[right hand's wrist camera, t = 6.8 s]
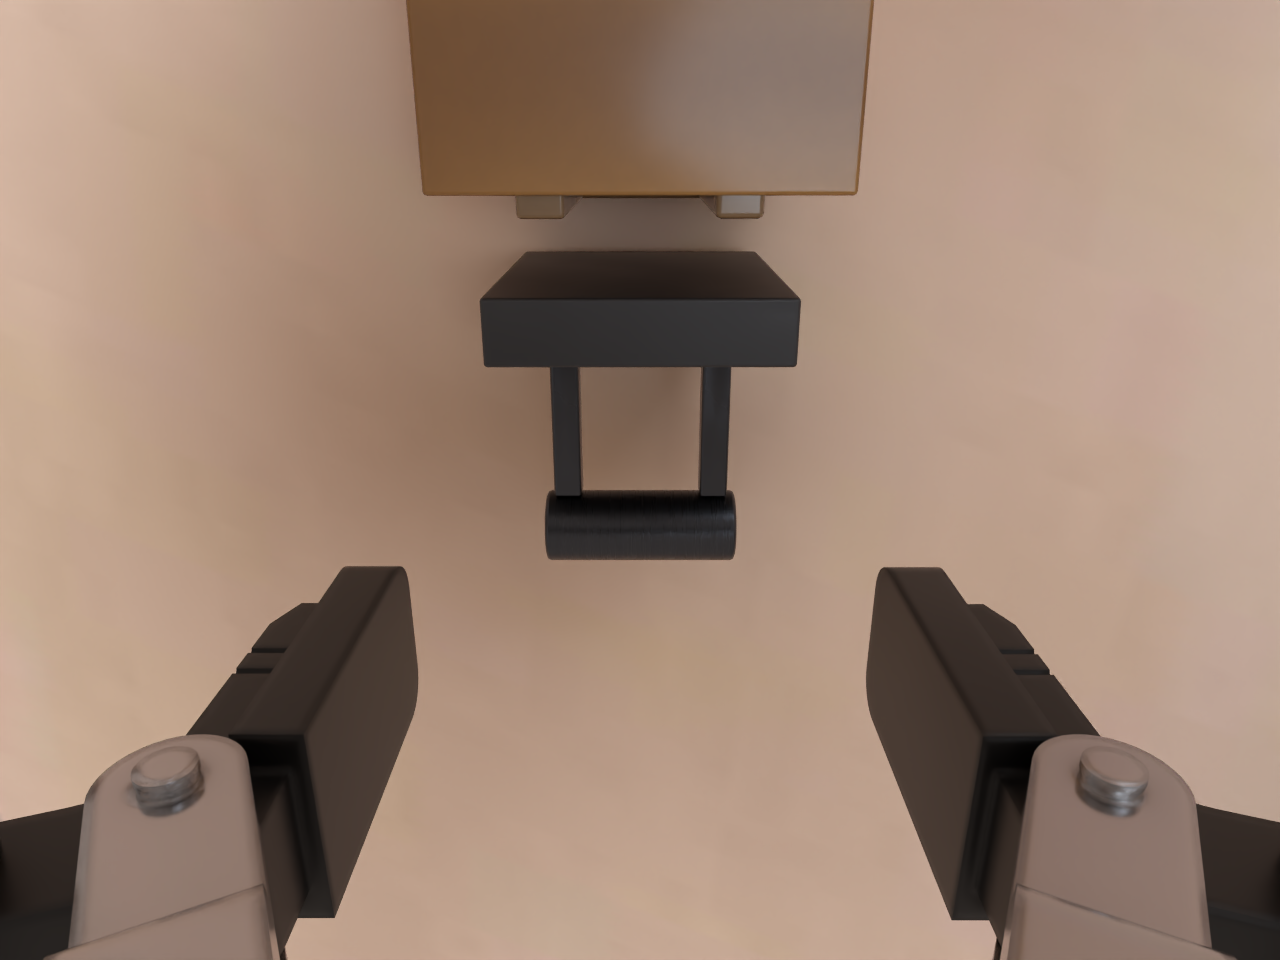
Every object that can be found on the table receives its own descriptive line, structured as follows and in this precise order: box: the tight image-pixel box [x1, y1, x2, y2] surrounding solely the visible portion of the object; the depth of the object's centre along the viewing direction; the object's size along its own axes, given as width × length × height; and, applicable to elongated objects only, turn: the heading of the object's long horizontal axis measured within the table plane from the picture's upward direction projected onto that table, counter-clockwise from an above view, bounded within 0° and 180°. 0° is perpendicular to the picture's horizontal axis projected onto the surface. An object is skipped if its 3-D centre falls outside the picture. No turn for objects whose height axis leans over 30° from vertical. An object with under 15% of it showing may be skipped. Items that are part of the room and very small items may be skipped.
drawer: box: [480, 195, 801, 560], centre depth 17 cm, size 20×5×6 cm, turn 0°
